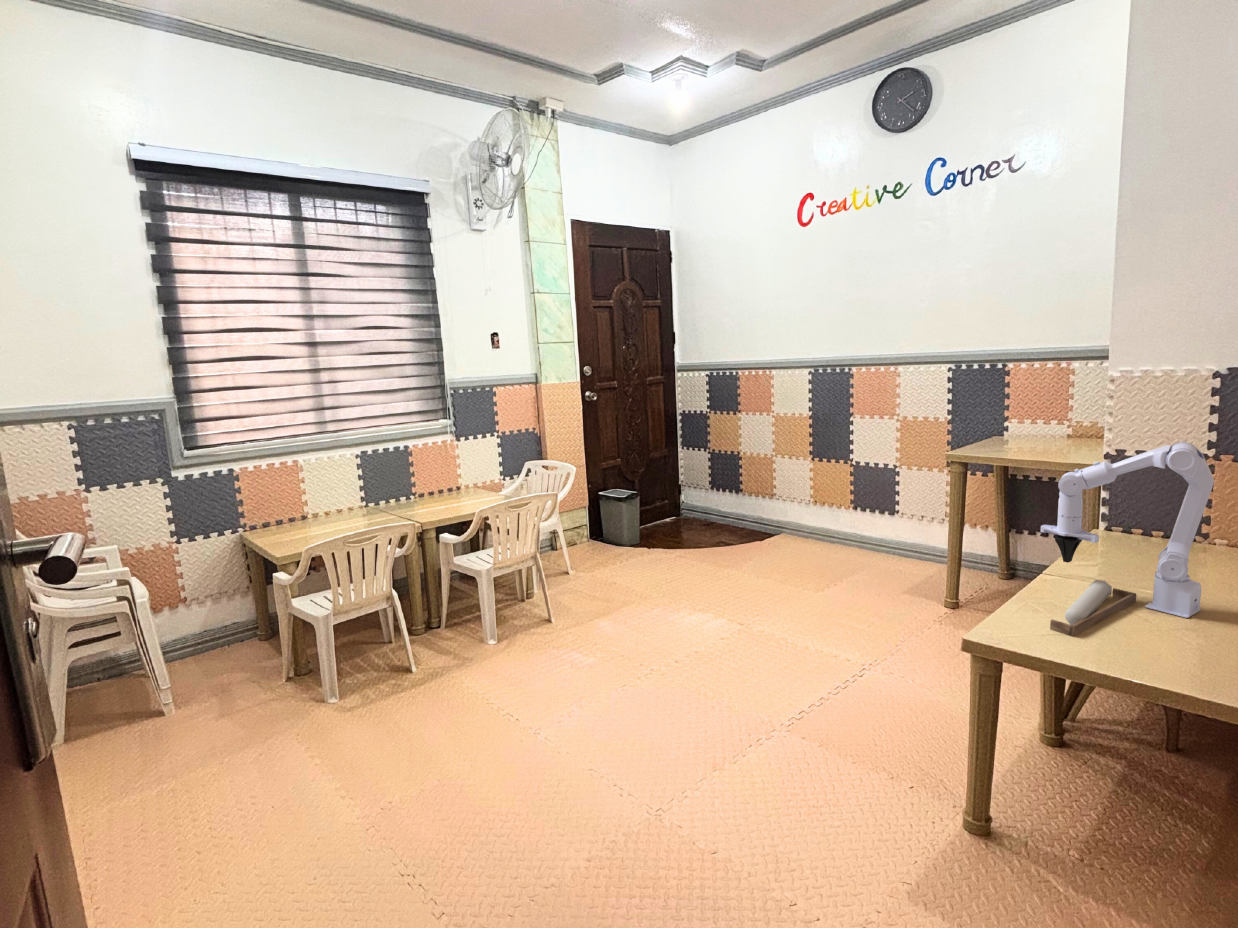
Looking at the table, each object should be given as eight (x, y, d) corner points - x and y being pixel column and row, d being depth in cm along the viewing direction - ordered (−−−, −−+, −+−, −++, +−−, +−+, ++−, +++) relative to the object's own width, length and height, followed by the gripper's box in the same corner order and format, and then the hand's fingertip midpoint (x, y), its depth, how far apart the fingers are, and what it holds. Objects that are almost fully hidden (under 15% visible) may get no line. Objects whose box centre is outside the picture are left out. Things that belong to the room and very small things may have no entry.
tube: (1089, 616, 178) (1115, 585, 194) (1066, 605, 181) (1094, 576, 198) (1080, 633, 180) (1107, 601, 197) (1058, 621, 184) (1086, 591, 200)
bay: (1135, 602, 192) (1136, 593, 192) (1072, 636, 176) (1073, 626, 175) (1113, 596, 197) (1114, 587, 196) (1050, 629, 181) (1050, 620, 180)
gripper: (1035, 513, 201) (1033, 558, 204) (1090, 523, 189) (1087, 571, 192) (1048, 508, 205) (1046, 552, 207) (1103, 517, 193) (1100, 565, 195)
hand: (1067, 561), depth 200 cm, fingers closed
